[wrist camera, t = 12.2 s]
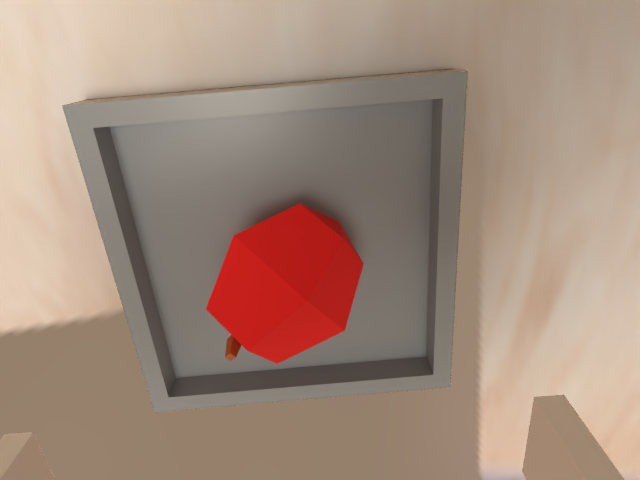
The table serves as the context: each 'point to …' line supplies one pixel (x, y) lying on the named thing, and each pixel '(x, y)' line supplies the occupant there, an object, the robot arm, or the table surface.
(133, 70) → the table surface
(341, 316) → the apple
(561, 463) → the robot arm
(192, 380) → the tray
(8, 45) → the table surface
